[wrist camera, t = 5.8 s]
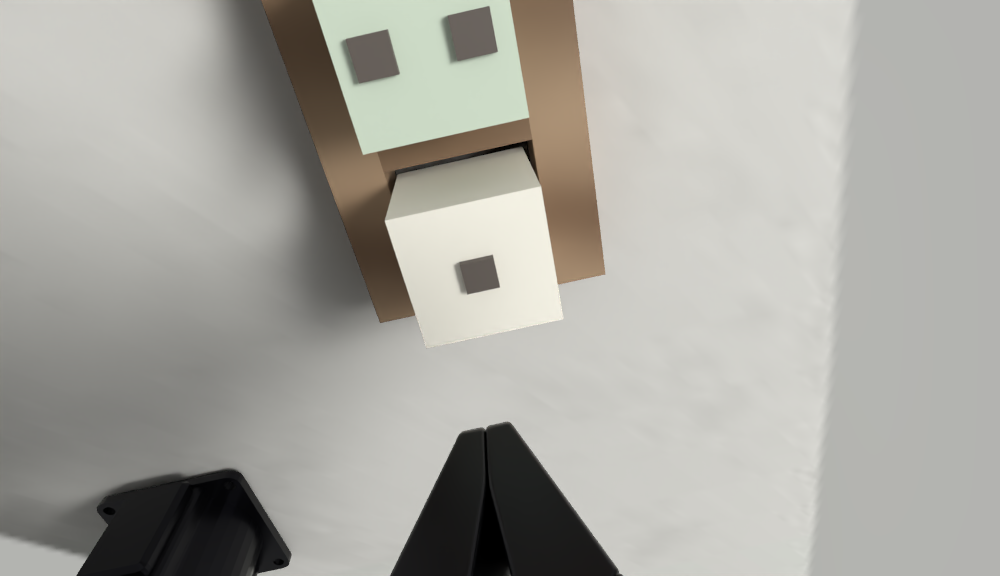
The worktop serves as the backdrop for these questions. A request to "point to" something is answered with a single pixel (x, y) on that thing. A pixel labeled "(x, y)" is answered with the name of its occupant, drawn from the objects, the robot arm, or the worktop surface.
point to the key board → (453, 143)
